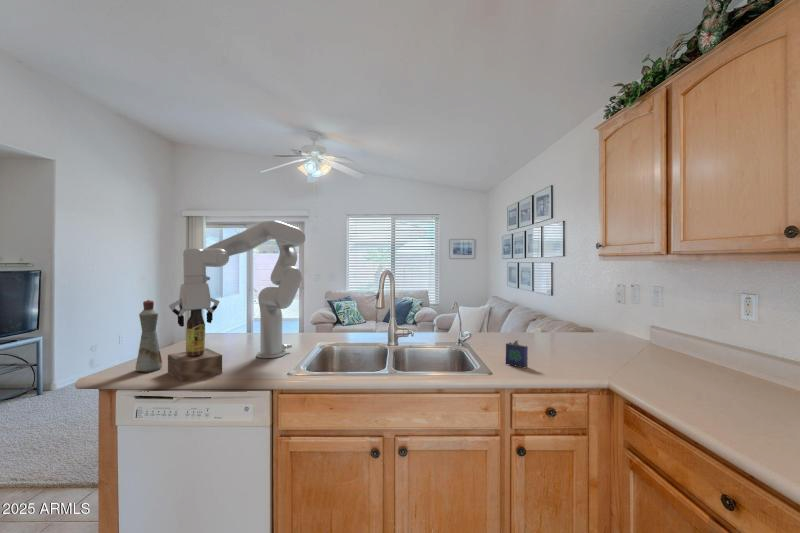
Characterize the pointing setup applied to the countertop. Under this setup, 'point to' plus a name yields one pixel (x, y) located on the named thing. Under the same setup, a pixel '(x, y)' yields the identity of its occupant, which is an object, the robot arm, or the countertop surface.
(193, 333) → the sauce bottle
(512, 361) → the flask
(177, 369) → the walnut block
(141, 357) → the bottle
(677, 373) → the countertop surface
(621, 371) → the countertop surface
